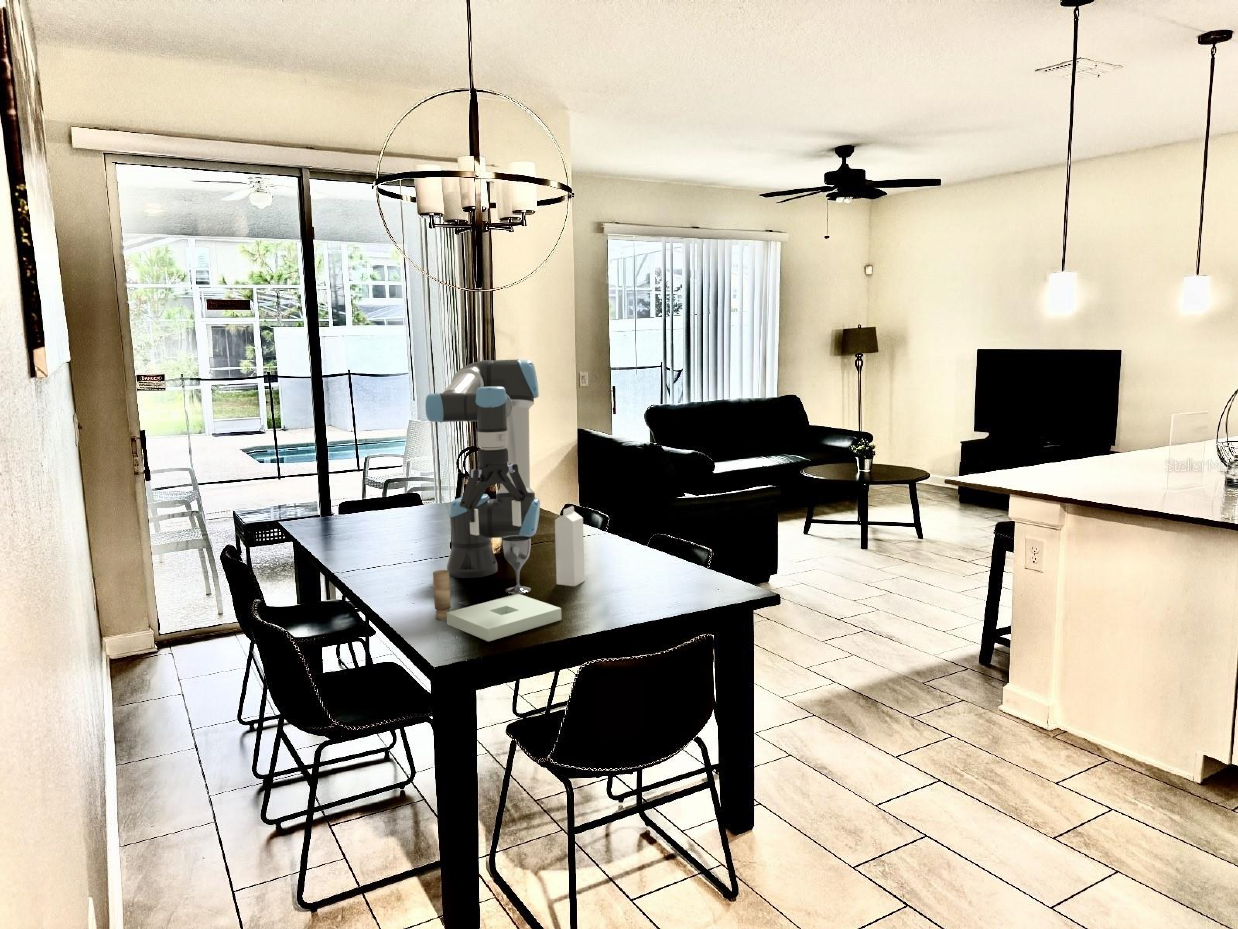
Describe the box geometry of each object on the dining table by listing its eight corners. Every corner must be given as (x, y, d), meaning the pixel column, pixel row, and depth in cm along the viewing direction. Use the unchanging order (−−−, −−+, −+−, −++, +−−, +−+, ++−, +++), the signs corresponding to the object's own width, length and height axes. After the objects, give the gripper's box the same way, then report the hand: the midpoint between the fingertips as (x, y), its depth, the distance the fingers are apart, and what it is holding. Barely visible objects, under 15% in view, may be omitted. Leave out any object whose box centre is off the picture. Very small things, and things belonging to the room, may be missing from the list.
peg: (432, 618, 223) (429, 572, 222) (445, 614, 226) (443, 569, 224) (440, 621, 220) (438, 575, 219) (454, 617, 223) (452, 572, 221)
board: (447, 624, 218) (446, 612, 218) (518, 604, 233) (518, 593, 233) (488, 641, 205) (488, 629, 205) (561, 619, 220) (561, 608, 220)
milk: (556, 584, 251) (553, 509, 248) (566, 579, 257) (564, 505, 254) (575, 586, 249) (572, 510, 246) (585, 581, 254) (582, 506, 251)
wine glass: (533, 585, 250) (531, 534, 248) (531, 594, 243) (529, 541, 240) (505, 586, 250) (503, 535, 248) (502, 594, 242) (500, 541, 240)
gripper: (461, 454, 211) (464, 540, 214) (540, 444, 228) (542, 523, 231) (443, 451, 216) (447, 536, 219) (521, 442, 233) (524, 520, 236)
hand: (496, 530), depth 225 cm, fingers open, 13 cm apart
